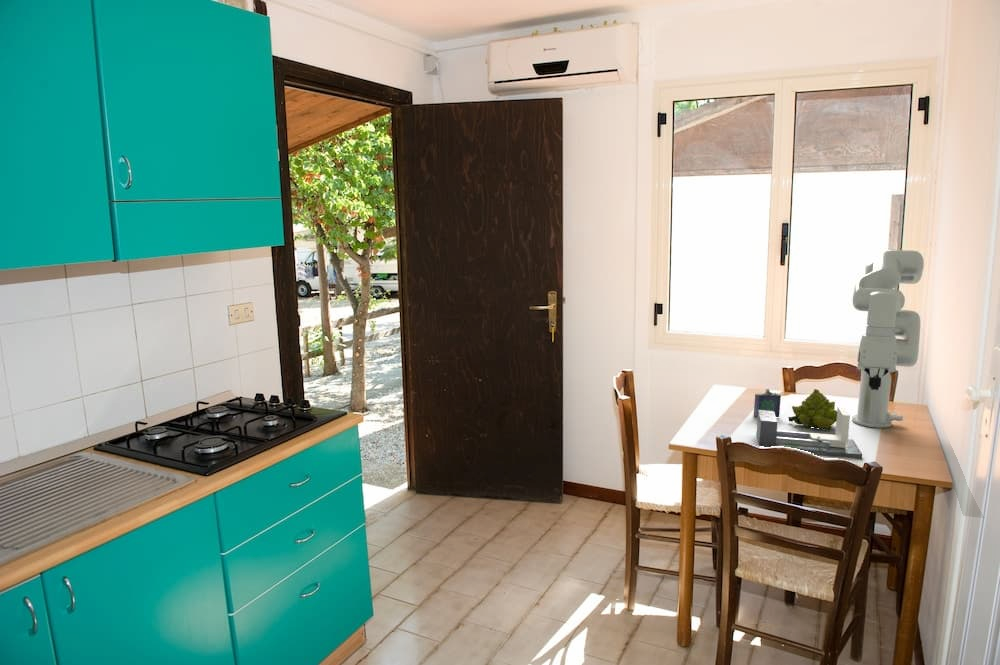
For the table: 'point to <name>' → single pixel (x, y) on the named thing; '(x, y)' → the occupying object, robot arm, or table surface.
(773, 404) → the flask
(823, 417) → the vegetable
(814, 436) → the white block
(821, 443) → the base
